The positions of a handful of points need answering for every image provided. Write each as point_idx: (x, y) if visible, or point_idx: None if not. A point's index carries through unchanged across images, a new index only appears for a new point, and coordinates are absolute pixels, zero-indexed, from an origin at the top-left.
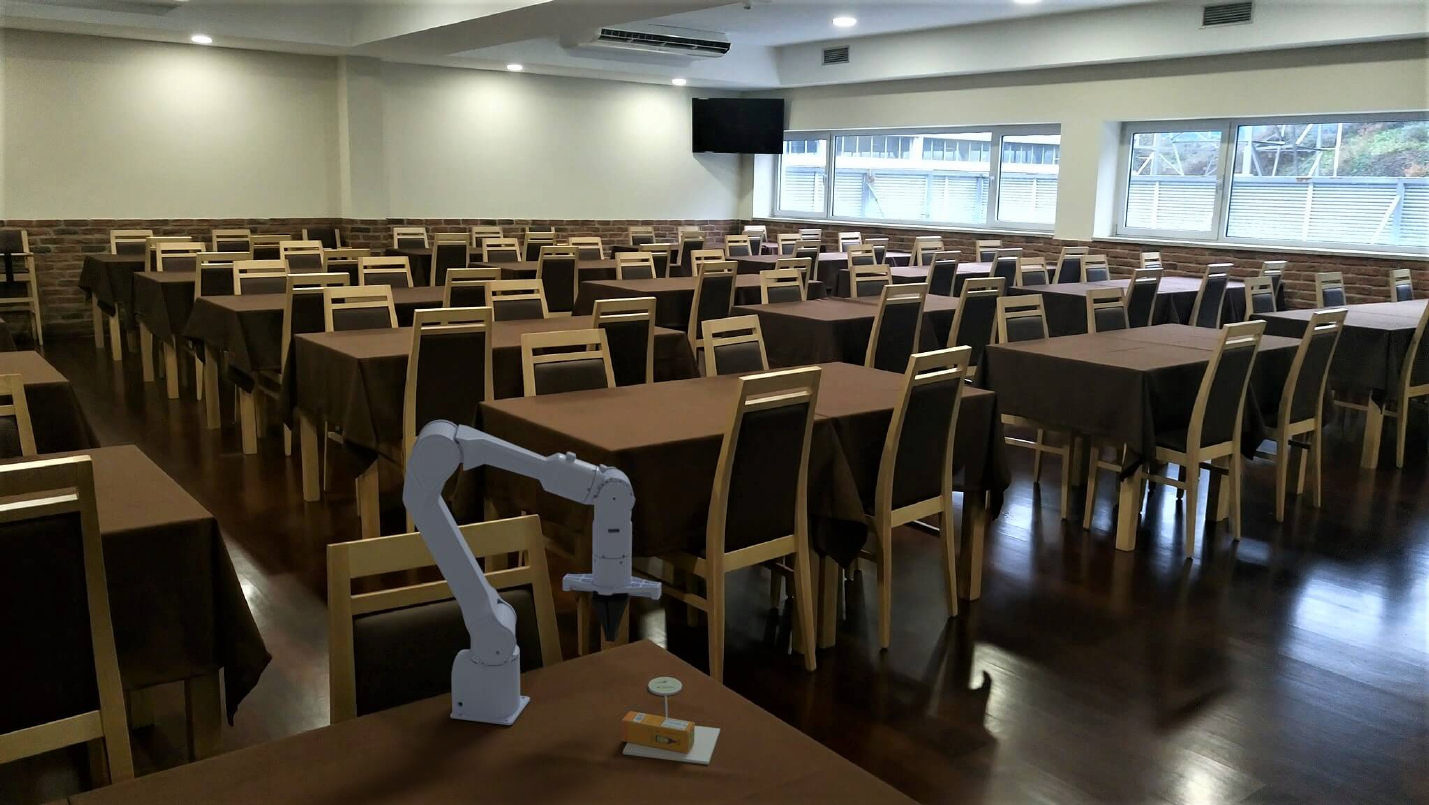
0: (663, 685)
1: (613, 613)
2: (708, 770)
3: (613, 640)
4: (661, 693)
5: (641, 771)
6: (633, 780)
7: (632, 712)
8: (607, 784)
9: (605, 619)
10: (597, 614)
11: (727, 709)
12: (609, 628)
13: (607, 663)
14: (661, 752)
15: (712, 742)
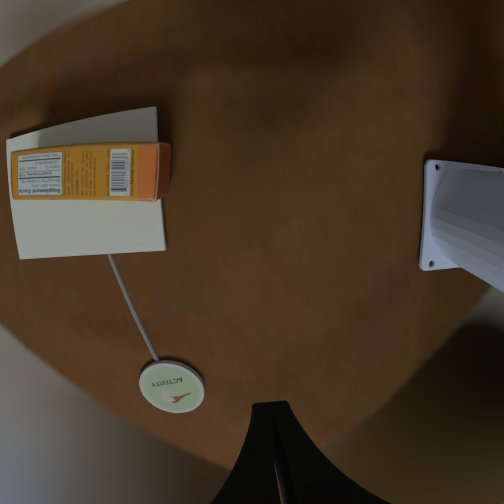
0: (173, 388)
1: (254, 497)
2: (7, 124)
3: (254, 406)
4: (165, 363)
5: (105, 66)
6: (114, 35)
7: (145, 193)
8: (158, 6)
9: (298, 465)
10: (344, 475)
11: (43, 334)
12: (278, 442)
13: (307, 428)
14: (80, 133)
15: (14, 206)
